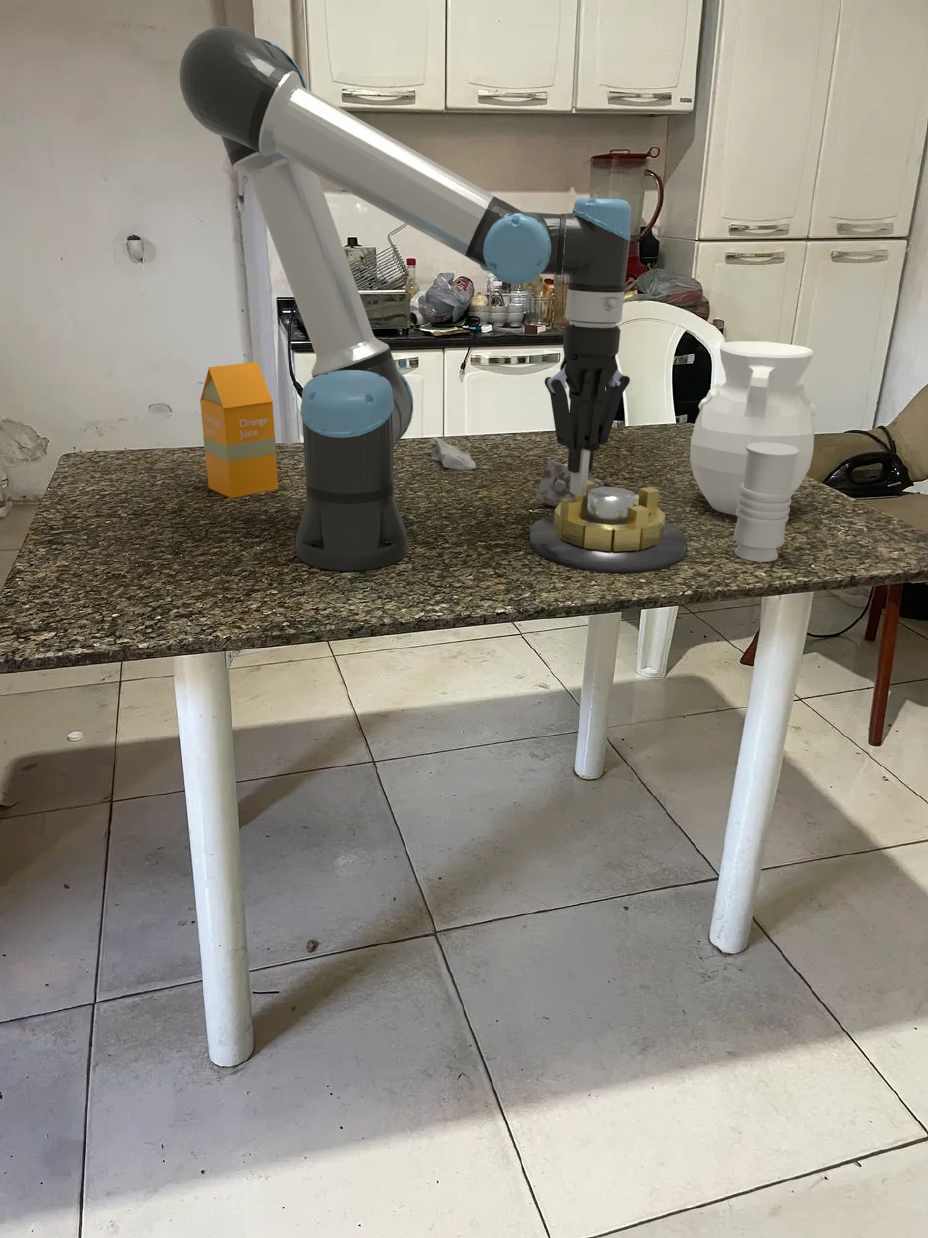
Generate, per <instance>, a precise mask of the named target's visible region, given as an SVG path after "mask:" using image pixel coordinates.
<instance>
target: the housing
mask: <svg viewBox="0 0 928 1238" xmlns="http://www.w3.org/2000/svg"><path fill="white" fill-rule="evenodd" d="M634 499H635V500H639V494H635V493H634V492H633V491H632V490H629V489H626V488H622V487H617V486H614V487H598V488H593V489H591V490H589V491H588V503H587V516H586V521H588V522H591V523H599V524H607V525H627V514H628V507H632V506H634ZM553 529H554V514H550V515H548V516H545V517H543V518H541V519H538V520H537V521H536V522H534V523H533V524H532V525H531V527H530V530H529V531H530V532H529V545H530V547H531V548H532V550H533V551H534V553H536V554H538V555H539V556H540V557H543V558H544V559H547V560H548V561H550V562H553V563H556V564H559V565H562V566H565V567H570V568H573V569H578V570H583V571H589V572H590V571H591V572H598V573H608V574H610V573H611V574H632V573H634V574H636V573H645V572H651V571H658V570H661V569H665V568H668V567H672V566H673V565H675V564H677V562H678V563H679V562H680V561H682V560H683V559H684V558H685V556H686V554H687V545H688V539H687V535H685V533H684V532H683V531H682V530H680V529H679V528H677V527H676V526H675V525H672V524H670V523H669V522H666V521H665V524H664V533H663V537H662V539H661V541H660V543H658V544H657V545H654V546H651V547H648V548H645V549H642V550H641V549H639V550H631V551H613V550H612V549H611V551H604V550H597V549H589V548H584V547H579V546H577V545H574V544H571V543H569V542H566V541H563V540H562V539H560V538H559V537H558V535H557V534H556V533H555V532H554V531H553Z"/></svg>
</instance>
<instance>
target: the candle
mask: <svg viewBox="0 0 928 1238" xmlns="http://www.w3.org/2000/svg"><path fill="white" fill-rule="evenodd" d="M746 450H747V451H748V454H747V461H746V468H745V475H744V481H743V483H742V484H741V485H740V488H739V495H738V502H737V509H736V515H735V516H736V517H737V521H736V525H735V527H734V528H735V529H734V532H733V533H734V534H733V540H734V541H735V542H736V543H738V544H737V547H736V548H735V550H734V554H735V556H737V557H739V558H741V559H743V560H747V561H752V562H758V563H759V562H762V563H763V562H774V561H776V560H778V558H779V555H778V551H777V548H780V547H782V546H783V545H784V544H785V532H786V523H787V522H788V521H789V513H790V511H791V510H790V506H791V504H792V498H791V497H792V496H793V491H792V489H791V485H792V479H793V473H794V467H795V461H796V456H797V455H798V454H799V449H797V448H796V447H793V446H790V445H786V444H781V443H772V442H756V443H751V444H748V445H747V447H746Z"/></svg>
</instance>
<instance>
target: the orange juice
mask: <svg viewBox="0 0 928 1238" xmlns="http://www.w3.org/2000/svg"><path fill="white" fill-rule="evenodd" d="M207 368H208V369H207V373H206V376H205V382H204V385H203V389H202V392H201V395H200V400H199V401H200V412H201V422H202V424H201V425H202V433H203V437H202V439H203V444H204V445H203V447H204V454H205V464H206V474H207V484H208V489H211V490H213V491H215V492H217V493H219V494H221V495H223V496H226V497H228V498H230V499H234V498H239V497H244V496H250V495H253V494H254V495H255V494H260V493H262V492H263V493H264V492H269V491H275V490H278V489H279V480H278V477H279V476H278V464H277V444H276V437H275V435H276V434H275V432H276V431H275V418H274V405H273V399H272V397H271V394H270V391H269V389H268V385H267V383H266V381H265V378H264V376H263V373H262V371H261V368H260V365H259V362H258V361H254V362H246V363H236V364H234V363H233V364H228V365H227V364H225V365H217V366H209V367H207Z"/></svg>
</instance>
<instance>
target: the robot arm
mask: <svg viewBox="0 0 928 1238" xmlns="http://www.w3.org/2000/svg"><path fill="white" fill-rule="evenodd" d="M179 83H180V84H179V86H180V91H181V94H182V97H183V101H184V103H185V104H186V107H187V108H188V111H190V113H191V114H192V115H191V116H193V118H195V120H197V122H198V123H199V124H200V125H201V126H202V127H203V128H205V129H207V130H208V131H209V132H210V133H211V132H212V133H213V134H215V135H217V136H219V137H221V138H220V139H221V140H222V143H223V146H224V149H225V150H226V154H227V156H228V159H229V162H230V163H231V166H232V168H233V170H234V171H236V172H238V173H240V174H241V175H243V176H245V177H247V178H248V179H249V181H250V183H251V186H252V189H253V191H254V194H255V196H256V199H257V202H258V205H259V207H260V210H261V213H262V216H263V218H264V221H265V223H266V226H267V229H268V232H269V233H270V234H269V235H270V237H271V239H272V242H273V245H274V247H275V250H276V253H277V255H278V258H279V261H280V263H281V266H282V269H283V272H284V274H285V277H286V280H287V283H288V285H289V287H290V291H291V293H292V295H293V298H294V301H295V304H296V306H297V308H298V311H299V314H300V317H301V320H302V321H303V324H304V328H305V329H306V332H307V333H306V334H307V336H308V338H309V340H310V343H311V345H312V349H313V352H314V353H315V356H316V357H315V362H314V365H313V366H312V367H313V368H312V370H311V377H312V378H311V379H309V380H308V381H307V382H306V383H305V385H304V386H303V389H302V393H301V404H300V416H301V419H302V433H303V434H302V437H303V450H304V451H303V452H304V468H305V469H304V470H305V487H306V501H305V503H304V508H303V511H302V515H301V518H300V521H299V525H298V528H297V532H296V536H295V546H296V547H295V549H296V555H297V557H298V559H299V560H300V561H301V562H302V563H305V564H308V565H310V566H313V567H315V568H319V569H325V570H330V571H331V570H332V571H345V572H347V571H350V572H353V571H354V572H355V571H365V570H366V571H367V570H372V569H373V570H374V569H378V568H384V567H387V566H390V565H392V564H395V563H397V562H399V561H400V560H402V559H403V558H405V557H406V555H407V553H408V534H407V531H406V528H405V525H404V521H403V519H402V516H401V513H400V510H399V507H398V505H397V502H396V499H395V490H394V488H395V486H394V482H395V478H394V477H395V475H394V472H395V471H394V468H395V467H394V466H395V465H394V447H395V445H397V443H398V442H399V441H400V440H401V438H403V436H404V435H405V434H406V433H407V431H408V428H409V426H410V424H411V423H412V419H413V413H414V398H413V397H414V396H413V392H412V388H411V387H410V384H409V382H408V381H407V379H406V377H405V376H404V375H403V374H402V373H401V372H400V370H398V367H397V366H396V365H397V364H396V363H395V359H394V357H393V354H392V351H391V348H390V346H389V344H388V343H385V342H383V341H382V340H379V339H378V338H377V337H376V336H375V335H374V332H373V330H372V327H371V324H370V320H369V318H368V315H367V312H366V309H365V307H364V304H363V301H362V298H361V295H360V293H359V290H358V287H357V283H356V281H355V278H354V275H353V272H352V269H351V267H350V264H349V261H348V258H347V256H346V252H345V250H344V247H343V244H342V241H341V238H340V235H339V232H338V230H337V227H336V224H335V221H334V218H333V216H332V213H331V210H330V207H329V204H328V201H327V198H326V195H325V191H324V189H323V187H322V184H321V181H320V178H319V177H321V178H323V179H325V181H328V182H330V183H332V184H334V185H335V186H338V187H339V188H341V189H343V190H345V191H347V192H348V193H350V194H351V195H354V196H355V197H357V198H359V199H361V200H363V201H365V202H366V203H368V204H370V205H371V206H374V207H376V208H377V209H379V210H381V211H383V213H386V214H388V215H390V216H392V217H394V218H395V219H396V220H397V219H398V220H399V221H401V222H403V223H404V224H407V225H408V226H410V227H411V228H413V229H415V230H417V231H419V232H421V234H422V233H423V234H425V235H426V236H428V237H429V238H432V239H433V240H436V241H437V242H439V243H440V244H443V245H444V246H446V247H448V248H449V249H451V250H453V251H455V252H456V253H458V254H461V255H462V256H463V257H466V258H468V259H469V260H471V261H472V262H474V263H476V264H478V265H479V266H480V268H481V270H483V271H486V272H490V273H491V274H492V275H493V276H494V277H495V278H496V279H498V280H499V281H502V282H504V283H506V284H509V285H515V286H519V285H522V284H527V283H530V282H532V281H534V280H535V279H536V278H538V277H540V275H552V276H553V275H556V276H568V277H567V278H568V281H567V292H566V303H565V304H566V305H565V316H564V318H565V319H566V320H567V321H568V323H566V325H565V326H564V331H563V343H562V350H563V351H562V352H563V356H564V357H563V359H562V362H561V364H560V368H559V369H560V370H559V372H557V373H556V374H555V375H553V376H552V377H551V376H547V377H545V378H544V385H545V388H546V389H547V391H548V393H549V394H550V395H549V396H550V401H551V408H552V415H553V423H554V430H555V435H556V441H557V443H558V445H559V444H560V445H562V446H564V447H566V448H567V449H568V457H567V463H568V471H570V472H571V479H570V491H569V492H571V493H573V494H575V495H578V496H586V488H587V478H588V472H592V470H593V465H594V456H595V455H594V454H595V452H598V451H599V450H600V448H601V445H602V446H603V445H604V446H605V445H606V444H607V443H608V440H609V438H610V434H611V431H612V428H613V425H614V421H615V417H616V416H617V412H618V409H619V405H620V403H621V400H622V396H623V393H624V392H625V390H626V388H628V386H629V384H630V382H631V378H630V377H629V376H628V375H624V374H622V373H621V372H620V371H619V370H618V363H617V360H616V355H617V354H618V353H619V351H620V349H619V348H620V341H621V340H620V339H621V329H620V326H618V325H617V324H619V323H620V322H622V318H623V307H624V299H625V289H626V288H625V287H626V286H625V285H626V279H627V269H628V261H629V251H630V245H631V243H630V242H631V225H632V224H631V223H632V206H631V205H630V203H629V202H628V201H627V200H624V199H618V198H592V197H590V198H589V197H579V198H577V199H576V200H575V201H574V205H573V209H572V212H568V213H561V214H560V213H550V212H549V213H548V212H547V213H546V212H533V211H523V210H520V209H518V208H517V207H515V206H513V205H512V204H510V203H508V202H507V201H505V200H502V199H500V198H498V197H496V196H495V195H494V194H491V192H489V191H486V190H485V189H483V188H482V187H480V186H478V185H476V184H475V183H472V182H471V181H469V180H467V179H465V178H464V177H462V176H460V175H458V174H456V173H455V172H453V171H451V170H450V169H449V168H446V167H445V166H443V165H441V164H439V163H437V162H436V161H434V160H432V159H430V158H429V157H427V156H425V155H423V154H421V153H420V152H418V151H416V150H415V149H413V148H410V147H409V146H408V145H406V144H404V143H403V142H400V141H399V140H397V139H395V138H393V137H392V136H390V135H387V133H385V132H383V131H381V130H379V129H378V128H376V127H374V126H372V125H370V124H369V123H368V122H365V121H364V120H362V119H359V118H358V117H357V116H355V115H353V114H351V113H349V112H348V111H346V110H344V109H342V108H341V107H339V106H337V105H336V104H333V103H332V102H330V101H328V100H326V99H325V98H323V97H321V96H320V95H318V94H316V93H314V92H312V91H310V90H309V89H308V87H307V82H306V81H305V77H304V75H303V73H302V72H301V70H300V68H299V67H298V65H297V63H296V62H295V61H294V59H293V58H292V57H290V55H289V54H288V53H287V52H286V51H285V50H284V49H282V48H281V47H280V46H279V45H277V44H276V43H273V42H271V41H270V40H267V39H264V38H259V37H256V36H254V35H252V34H251V33H249V32H248V31H245V30H243V29H241V28H238V27H234V26H227V25H222V26H215V27H212V28H208V29H205V30H204V31H202V32H200V33H199V34H197V35H196V36H195V37H194V38H193V39H192V40H191V41H190V42H189V44H188V45H187V47H186V49H185V50H184V53H183V55H182V58H181V60H180V68H179ZM567 387H568V394H567V391H566V389H567ZM568 397H569V398H568ZM568 400H569V401H570V402H569V401H568Z"/></svg>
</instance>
